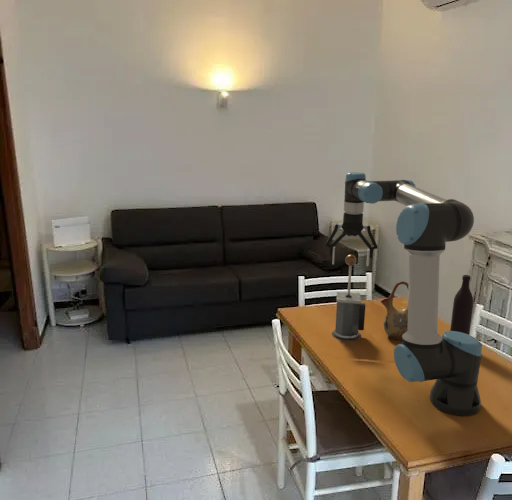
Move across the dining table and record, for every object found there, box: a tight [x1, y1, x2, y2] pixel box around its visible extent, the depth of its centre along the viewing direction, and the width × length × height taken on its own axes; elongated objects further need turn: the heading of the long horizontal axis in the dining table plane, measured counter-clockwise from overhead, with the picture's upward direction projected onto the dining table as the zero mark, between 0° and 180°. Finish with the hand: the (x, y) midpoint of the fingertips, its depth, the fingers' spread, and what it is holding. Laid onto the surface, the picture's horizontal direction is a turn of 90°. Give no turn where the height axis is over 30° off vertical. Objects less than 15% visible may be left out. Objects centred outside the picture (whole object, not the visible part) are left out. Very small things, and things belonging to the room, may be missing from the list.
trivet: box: [331, 330, 362, 342], centre depth 206 cm, size 12×12×1 cm
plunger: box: [344, 254, 357, 298], centre depth 200 cm, size 7×7×24 cm
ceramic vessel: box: [380, 281, 409, 341], centre depth 201 cm, size 16×9×25 cm, turn 90°
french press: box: [333, 291, 366, 340], centre depth 203 cm, size 10×12×17 cm
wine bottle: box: [449, 274, 474, 335], centre depth 193 cm, size 7×7×30 cm
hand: (350, 264), depth 198 cm, fingers open, 13 cm apart
